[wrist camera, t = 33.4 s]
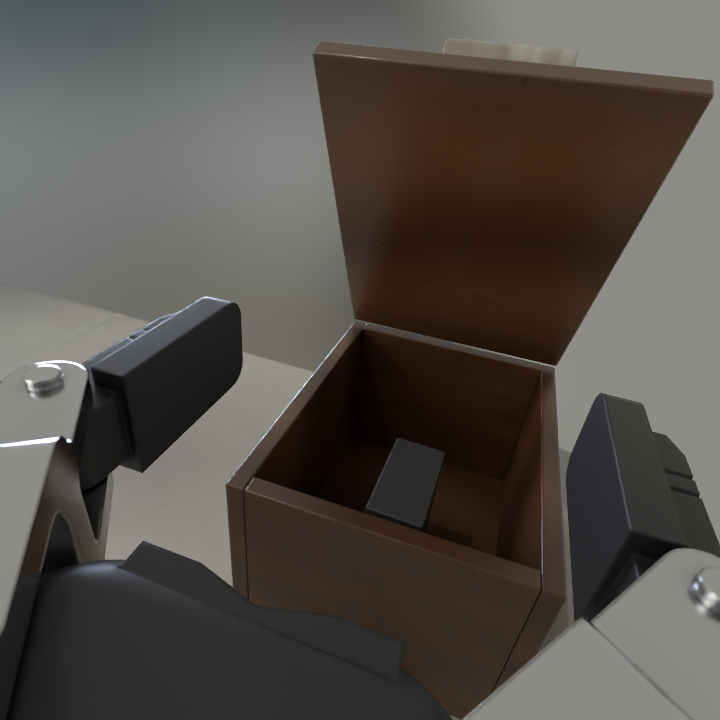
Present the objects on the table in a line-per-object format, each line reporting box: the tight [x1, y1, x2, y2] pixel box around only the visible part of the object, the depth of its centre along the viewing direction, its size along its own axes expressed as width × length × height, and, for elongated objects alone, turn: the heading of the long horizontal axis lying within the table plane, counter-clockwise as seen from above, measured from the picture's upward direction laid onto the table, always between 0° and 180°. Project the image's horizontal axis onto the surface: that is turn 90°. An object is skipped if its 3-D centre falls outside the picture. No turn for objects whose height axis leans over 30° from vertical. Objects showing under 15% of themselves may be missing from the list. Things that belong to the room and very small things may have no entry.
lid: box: [313, 38, 714, 366], centre depth 23 cm, size 16×13×5 cm
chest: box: [226, 321, 566, 719], centre depth 26 cm, size 16×13×10 cm
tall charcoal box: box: [365, 438, 445, 533], centre depth 23 cm, size 2×5×8 cm, turn 160°
